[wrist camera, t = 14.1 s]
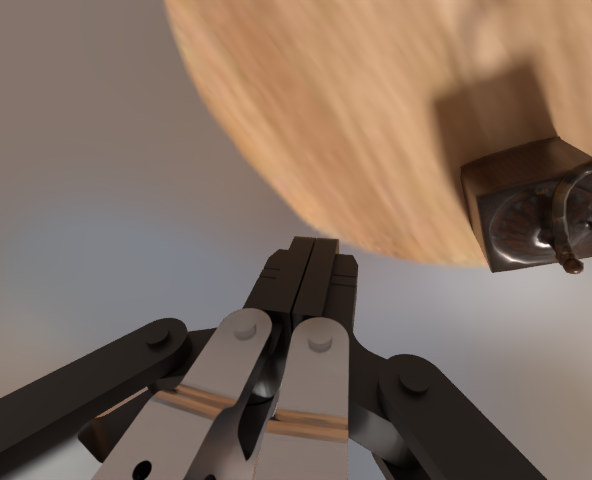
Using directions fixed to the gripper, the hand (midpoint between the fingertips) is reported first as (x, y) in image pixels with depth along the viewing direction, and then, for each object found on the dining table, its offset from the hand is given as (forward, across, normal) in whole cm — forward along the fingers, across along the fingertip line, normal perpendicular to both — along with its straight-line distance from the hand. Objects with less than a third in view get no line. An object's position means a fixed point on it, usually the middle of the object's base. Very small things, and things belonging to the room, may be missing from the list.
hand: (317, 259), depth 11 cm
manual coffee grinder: (+32, -18, +8) cm, 38 cm away
